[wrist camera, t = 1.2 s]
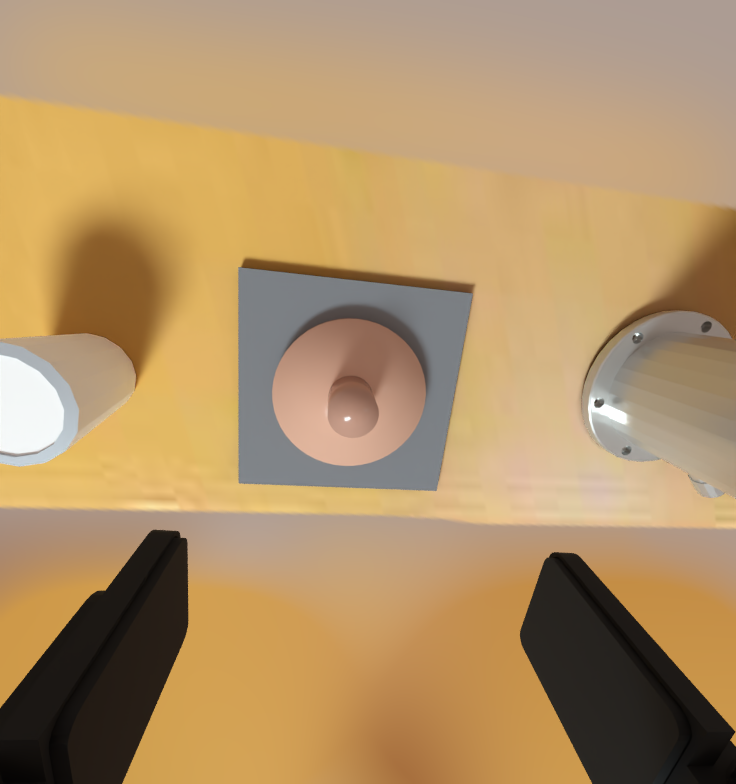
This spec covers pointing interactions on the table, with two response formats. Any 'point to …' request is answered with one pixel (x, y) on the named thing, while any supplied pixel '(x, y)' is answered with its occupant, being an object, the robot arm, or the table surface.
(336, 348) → the lid
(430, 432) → the mat
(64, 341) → the white cup
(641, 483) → the table surface
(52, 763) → the robot arm
